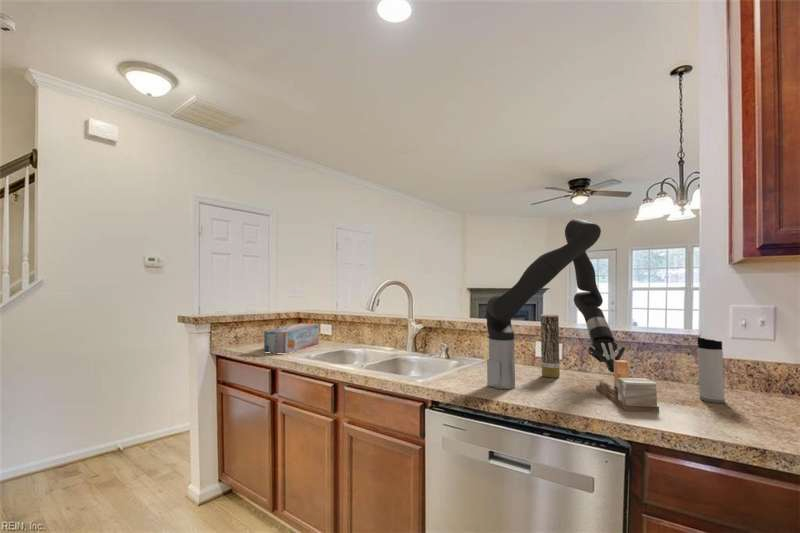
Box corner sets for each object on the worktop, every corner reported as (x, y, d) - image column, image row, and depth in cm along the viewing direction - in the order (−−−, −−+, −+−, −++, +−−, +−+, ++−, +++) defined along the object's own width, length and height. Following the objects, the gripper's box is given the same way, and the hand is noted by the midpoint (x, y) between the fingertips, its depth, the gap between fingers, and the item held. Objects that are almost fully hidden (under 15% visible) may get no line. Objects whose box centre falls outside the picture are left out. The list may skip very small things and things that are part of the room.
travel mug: (693, 397, 124) (691, 336, 125) (712, 397, 125) (709, 336, 126) (710, 403, 118) (708, 339, 119) (730, 403, 118) (727, 339, 119)
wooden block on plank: (659, 412, 110) (658, 383, 111) (626, 410, 111) (625, 382, 112) (622, 389, 134) (622, 366, 134) (596, 388, 135) (595, 365, 136)
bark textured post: (556, 374, 157) (555, 314, 158) (562, 378, 150) (560, 315, 151) (539, 374, 157) (538, 314, 159) (544, 378, 151) (543, 315, 152)
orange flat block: (644, 402, 113) (643, 368, 114) (632, 401, 114) (630, 368, 114) (625, 390, 126) (624, 360, 126) (614, 390, 126) (613, 360, 127)
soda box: (299, 343, 245) (299, 323, 245) (319, 343, 242) (319, 323, 242) (262, 354, 205) (263, 330, 206) (286, 355, 202) (286, 331, 203)
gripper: (615, 337, 146) (631, 377, 133) (579, 337, 148) (591, 376, 135) (620, 325, 141) (637, 365, 128) (583, 325, 143) (595, 364, 130)
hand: (613, 371), depth 132 cm, fingers closed
